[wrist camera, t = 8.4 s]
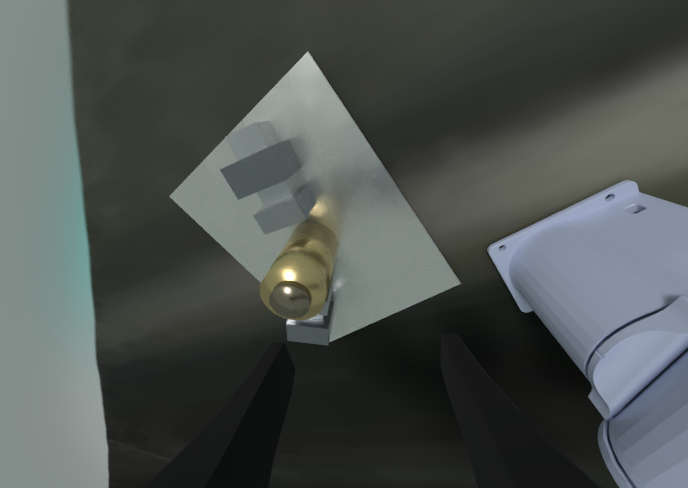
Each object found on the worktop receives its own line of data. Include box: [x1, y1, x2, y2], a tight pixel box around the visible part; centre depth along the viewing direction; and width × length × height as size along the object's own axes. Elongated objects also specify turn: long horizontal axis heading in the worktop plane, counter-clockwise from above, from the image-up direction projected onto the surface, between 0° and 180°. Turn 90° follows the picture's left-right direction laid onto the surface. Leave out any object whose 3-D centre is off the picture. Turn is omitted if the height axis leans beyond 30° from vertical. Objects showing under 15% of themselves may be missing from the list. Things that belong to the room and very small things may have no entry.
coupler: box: [260, 222, 338, 320], centre depth 17 cm, size 4×4×7 cm
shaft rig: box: [170, 52, 461, 345], centre depth 19 cm, size 15×20×4 cm
